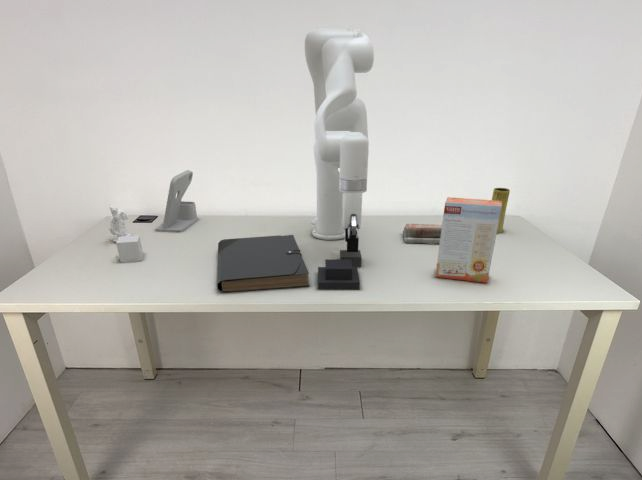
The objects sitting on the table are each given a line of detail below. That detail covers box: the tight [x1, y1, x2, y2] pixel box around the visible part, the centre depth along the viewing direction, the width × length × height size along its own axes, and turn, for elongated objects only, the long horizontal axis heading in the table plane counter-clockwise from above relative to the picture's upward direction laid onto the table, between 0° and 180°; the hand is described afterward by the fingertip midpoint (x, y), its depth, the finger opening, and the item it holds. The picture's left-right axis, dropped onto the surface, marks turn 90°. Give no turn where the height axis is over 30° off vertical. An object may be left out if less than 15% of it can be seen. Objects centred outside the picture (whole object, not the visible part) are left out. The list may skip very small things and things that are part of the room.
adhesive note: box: [115, 234, 144, 263], centre depth 142 cm, size 6×6×6 cm
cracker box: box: [435, 196, 502, 284], centre depth 126 cm, size 14×6×21 cm, turn 71°
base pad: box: [317, 266, 361, 290], centre depth 128 cm, size 11×11×2 cm
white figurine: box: [108, 205, 133, 243], centre depth 154 cm, size 8×7×12 cm
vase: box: [491, 187, 511, 234], centre depth 164 cm, size 6×6×14 cm
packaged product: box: [402, 223, 442, 245], centre depth 158 cm, size 18×5×10 cm
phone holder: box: [155, 169, 199, 233], centre depth 168 cm, size 17×10×18 cm, turn 172°
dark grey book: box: [216, 234, 310, 294], centre depth 136 cm, size 33×4×24 cm
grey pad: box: [339, 249, 362, 268], centre depth 139 cm, size 6×6×3 cm
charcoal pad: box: [324, 258, 352, 279], centre depth 126 cm, size 7×7×3 cm
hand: (351, 246), depth 136 cm, fingers open, 9 cm apart
